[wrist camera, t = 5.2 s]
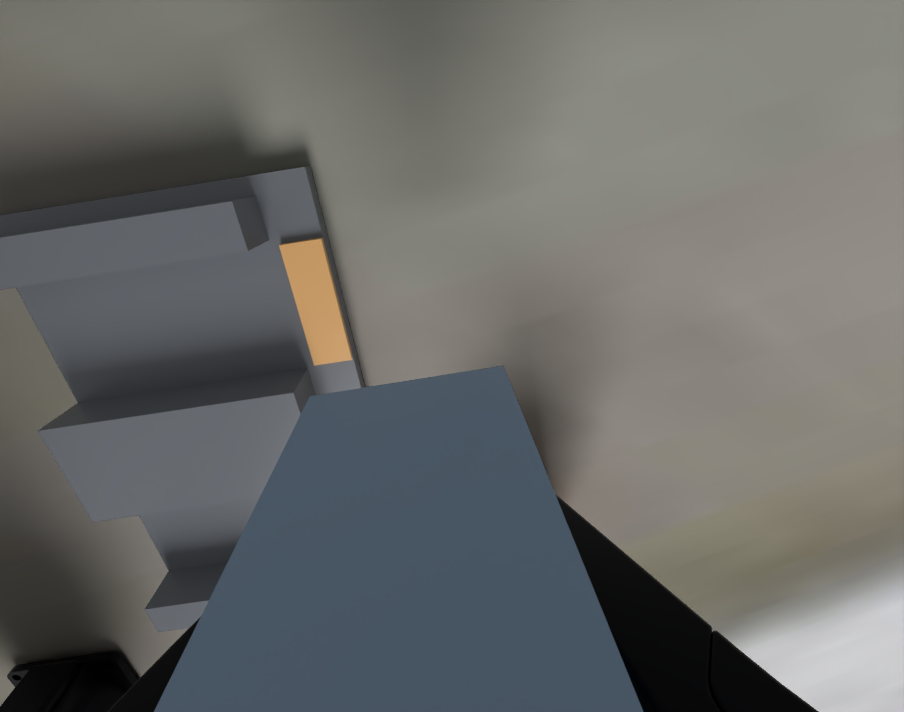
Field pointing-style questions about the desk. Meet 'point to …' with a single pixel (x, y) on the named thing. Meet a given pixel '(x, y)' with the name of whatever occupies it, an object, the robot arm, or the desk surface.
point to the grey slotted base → (183, 354)
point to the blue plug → (405, 570)
